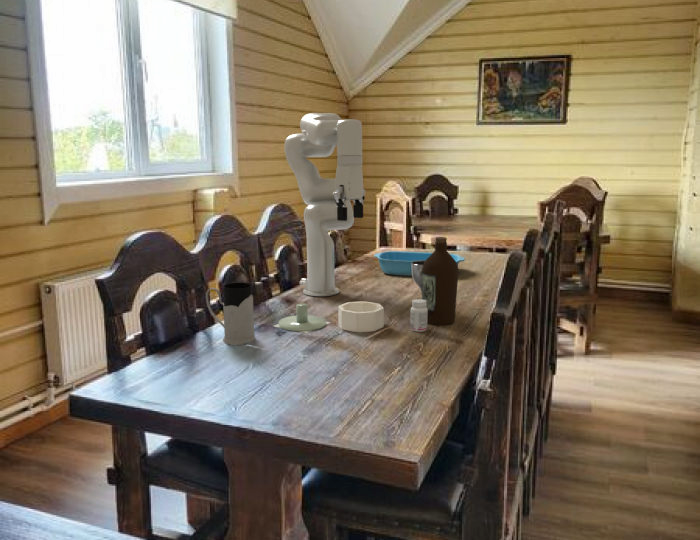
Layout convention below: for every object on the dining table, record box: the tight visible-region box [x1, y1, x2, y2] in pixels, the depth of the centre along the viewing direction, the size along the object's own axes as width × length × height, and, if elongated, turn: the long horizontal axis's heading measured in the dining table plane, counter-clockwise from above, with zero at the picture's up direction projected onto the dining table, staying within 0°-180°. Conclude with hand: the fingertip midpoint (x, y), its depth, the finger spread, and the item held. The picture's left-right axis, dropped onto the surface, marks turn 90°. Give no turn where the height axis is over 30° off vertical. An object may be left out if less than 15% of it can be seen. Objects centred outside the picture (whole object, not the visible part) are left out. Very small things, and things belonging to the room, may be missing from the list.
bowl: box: [337, 300, 385, 333], centre depth 176 cm, size 12×12×6 cm
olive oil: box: [422, 236, 460, 326], centre depth 181 cm, size 11×11×25 cm
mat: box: [273, 321, 332, 334], centre depth 178 cm, size 12×12×1 cm
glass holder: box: [205, 282, 257, 346], centre depth 165 cm, size 9×14×15 cm, turn 70°
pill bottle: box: [409, 298, 428, 333], centre depth 174 cm, size 5×5×8 cm
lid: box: [278, 303, 327, 332], centre depth 177 cm, size 14×14×6 cm
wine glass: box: [411, 260, 425, 300], centre depth 195 cm, size 8×8×15 cm
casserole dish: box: [373, 250, 466, 277], centre depth 252 cm, size 37×22×7 cm, turn 79°
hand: (350, 219), depth 187 cm, fingers open, 9 cm apart
